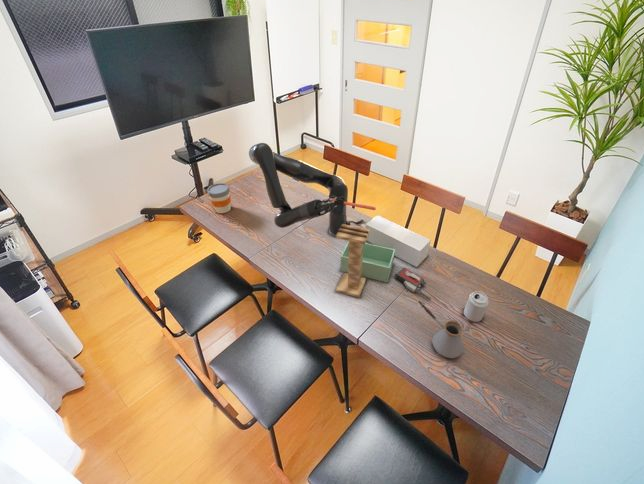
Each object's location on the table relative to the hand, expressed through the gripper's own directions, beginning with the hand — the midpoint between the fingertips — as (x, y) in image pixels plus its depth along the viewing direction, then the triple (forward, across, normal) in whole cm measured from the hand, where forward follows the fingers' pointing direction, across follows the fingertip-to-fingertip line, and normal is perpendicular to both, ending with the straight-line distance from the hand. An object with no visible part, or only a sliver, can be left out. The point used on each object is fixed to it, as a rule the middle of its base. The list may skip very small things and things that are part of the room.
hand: (343, 199), depth 137 cm
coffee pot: (+20, -26, +59) cm, 67 cm away
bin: (-10, +5, +41) cm, 42 cm away
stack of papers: (-2, +23, +46) cm, 52 cm away
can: (+32, -8, +66) cm, 73 cm away
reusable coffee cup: (-95, +24, -8) cm, 98 cm away
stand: (-14, -9, +39) cm, 42 cm away
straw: (+3, 0, +3) cm, 4 cm away
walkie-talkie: (+10, 0, +53) cm, 54 cm away
